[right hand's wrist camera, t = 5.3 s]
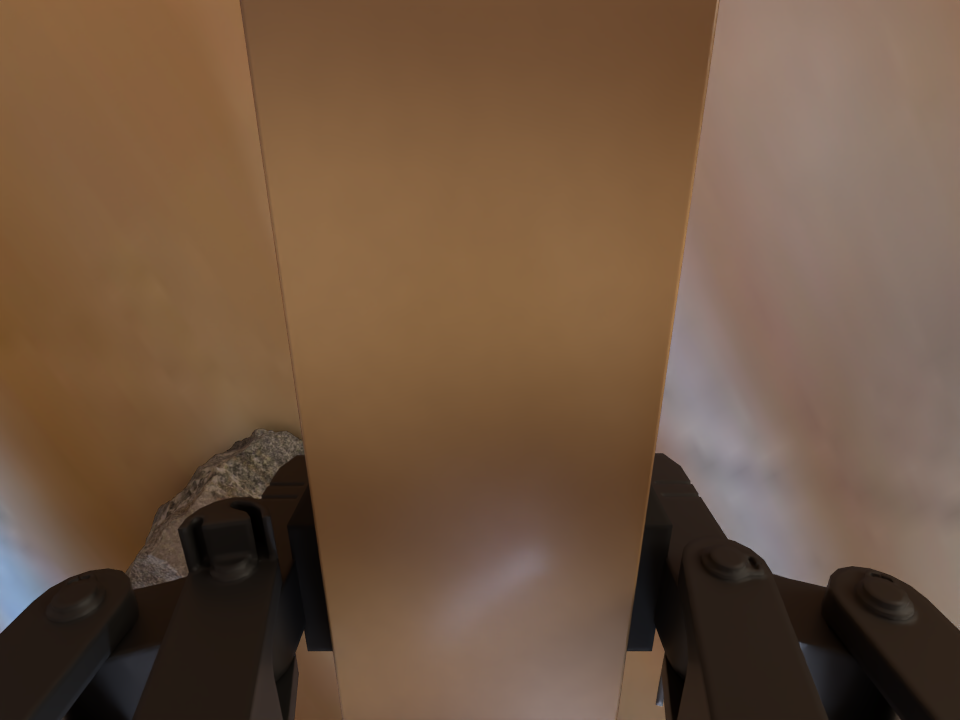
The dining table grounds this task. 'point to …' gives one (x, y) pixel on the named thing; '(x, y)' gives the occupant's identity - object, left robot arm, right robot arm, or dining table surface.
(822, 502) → the dining table surface
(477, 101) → the bar
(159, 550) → the rock
